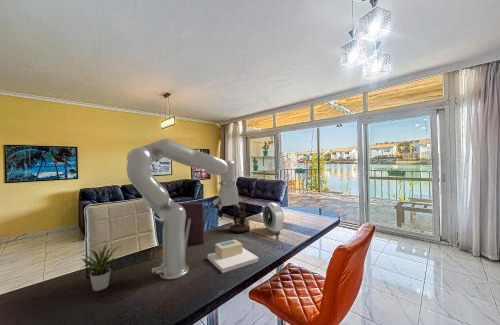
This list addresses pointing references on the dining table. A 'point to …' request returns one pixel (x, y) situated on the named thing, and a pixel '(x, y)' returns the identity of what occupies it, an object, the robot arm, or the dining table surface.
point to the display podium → (233, 261)
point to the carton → (228, 249)
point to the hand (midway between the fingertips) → (228, 215)
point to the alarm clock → (273, 218)
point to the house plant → (100, 269)
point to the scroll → (240, 221)
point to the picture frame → (194, 223)
